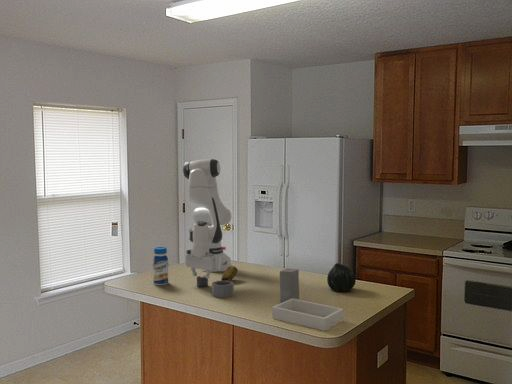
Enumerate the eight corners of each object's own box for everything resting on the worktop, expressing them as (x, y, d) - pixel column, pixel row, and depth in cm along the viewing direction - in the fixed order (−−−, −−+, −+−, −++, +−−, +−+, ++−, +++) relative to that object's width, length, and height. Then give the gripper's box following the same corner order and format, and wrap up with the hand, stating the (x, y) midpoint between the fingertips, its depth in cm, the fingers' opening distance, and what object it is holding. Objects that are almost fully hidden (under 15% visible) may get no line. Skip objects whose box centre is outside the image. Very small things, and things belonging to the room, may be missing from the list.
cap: (202, 284, 271) (202, 274, 271) (210, 285, 267) (210, 276, 267) (194, 286, 266) (194, 276, 266) (202, 288, 263) (202, 278, 262)
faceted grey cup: (221, 290, 258) (221, 279, 257) (238, 294, 251) (237, 282, 250) (207, 295, 249) (207, 283, 248) (223, 299, 242) (223, 287, 242)
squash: (365, 280, 256) (348, 256, 262) (349, 287, 245) (332, 262, 251) (348, 294, 264) (332, 270, 270) (332, 301, 254) (316, 277, 259)
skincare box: (291, 305, 232) (292, 272, 230) (278, 303, 235) (278, 270, 234) (300, 301, 239) (300, 269, 238) (287, 298, 243) (287, 267, 241)
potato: (215, 282, 274) (215, 268, 274) (231, 278, 284) (231, 264, 283) (226, 285, 269) (225, 270, 268) (241, 280, 278) (241, 266, 278)
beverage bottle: (170, 281, 276) (170, 246, 275) (166, 285, 268) (165, 249, 266) (155, 281, 277) (155, 246, 275) (151, 285, 268) (150, 249, 267)
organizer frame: (292, 308, 227) (292, 298, 226) (343, 320, 211) (343, 308, 210) (272, 318, 214) (272, 306, 214) (324, 330, 198) (324, 318, 198)
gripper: (219, 253, 261) (219, 278, 262) (192, 248, 274) (192, 273, 275) (210, 254, 256) (210, 281, 257) (183, 250, 269) (183, 275, 270)
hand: (200, 277), depth 266 cm, fingers open, 8 cm apart
